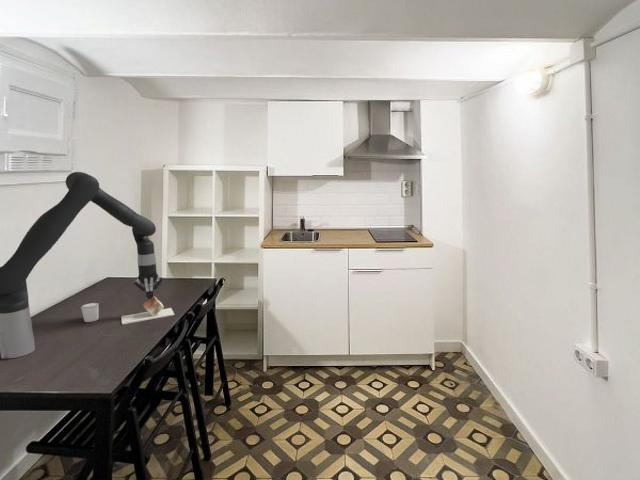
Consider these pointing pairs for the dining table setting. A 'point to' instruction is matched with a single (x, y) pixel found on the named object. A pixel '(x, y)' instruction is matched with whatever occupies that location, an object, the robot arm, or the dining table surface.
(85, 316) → the white cup
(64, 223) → the robot arm
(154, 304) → the maple cube
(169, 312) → the mat
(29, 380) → the dining table surface
